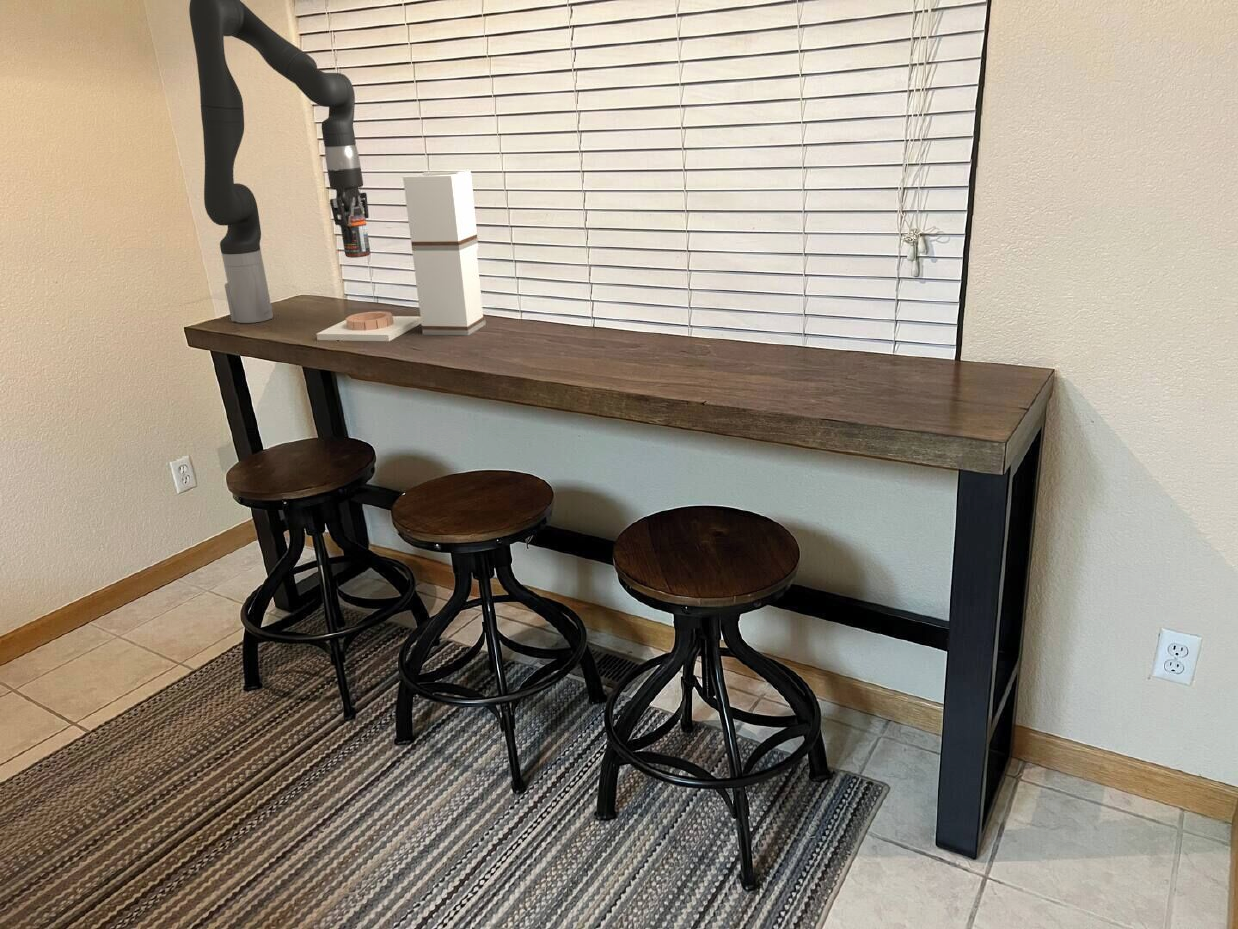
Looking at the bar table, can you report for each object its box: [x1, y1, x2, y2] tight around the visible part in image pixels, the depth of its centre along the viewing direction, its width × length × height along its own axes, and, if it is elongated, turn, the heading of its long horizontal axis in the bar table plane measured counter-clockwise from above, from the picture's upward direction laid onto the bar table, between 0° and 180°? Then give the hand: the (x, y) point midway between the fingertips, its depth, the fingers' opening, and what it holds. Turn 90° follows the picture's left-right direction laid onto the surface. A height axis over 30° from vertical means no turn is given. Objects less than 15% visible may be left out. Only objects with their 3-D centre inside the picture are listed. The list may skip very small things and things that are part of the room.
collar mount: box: [316, 311, 422, 342], centre depth 217 cm, size 18×18×4 cm
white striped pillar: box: [402, 170, 486, 336], centre depth 209 cm, size 11×11×35 cm
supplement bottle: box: [340, 207, 371, 259], centre depth 217 cm, size 6×6×11 cm
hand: (355, 240), depth 217 cm, fingers closed on supplement bottle, 6 cm apart
